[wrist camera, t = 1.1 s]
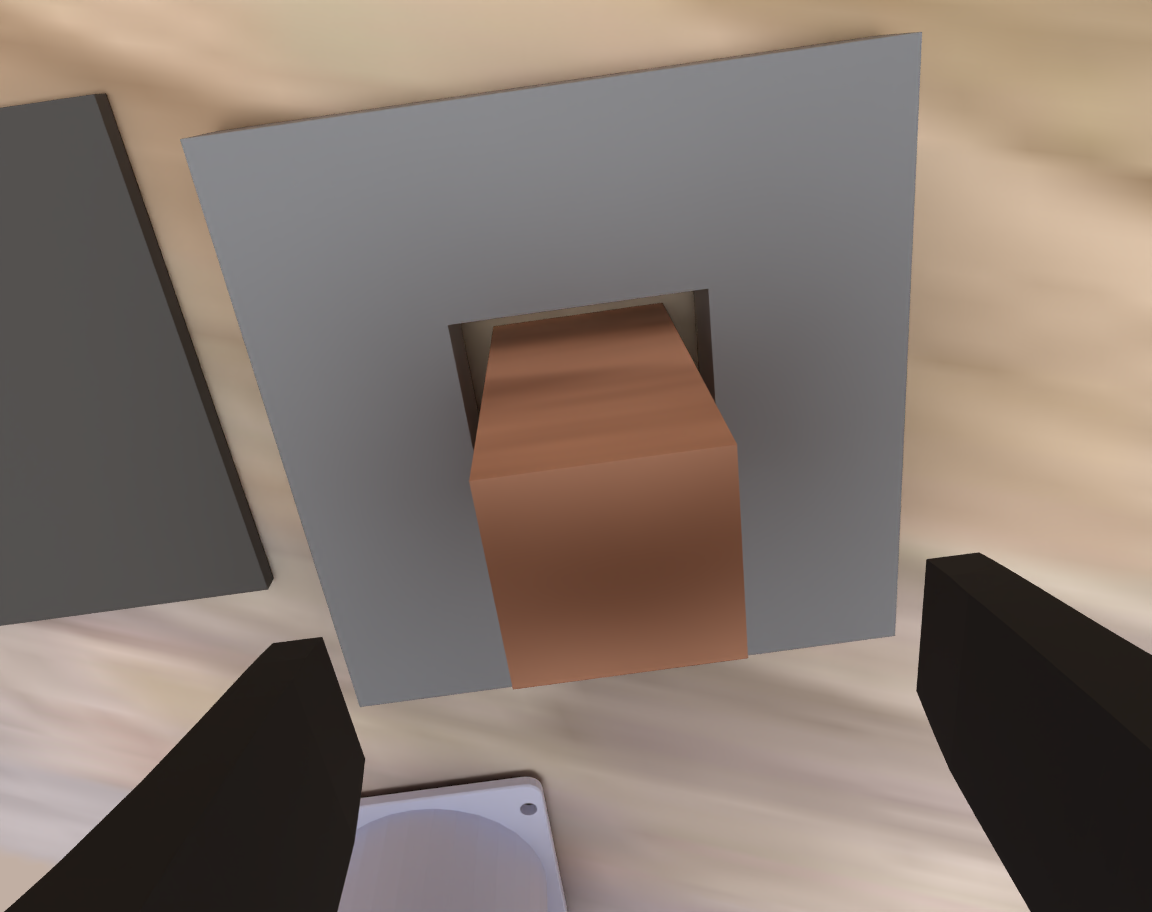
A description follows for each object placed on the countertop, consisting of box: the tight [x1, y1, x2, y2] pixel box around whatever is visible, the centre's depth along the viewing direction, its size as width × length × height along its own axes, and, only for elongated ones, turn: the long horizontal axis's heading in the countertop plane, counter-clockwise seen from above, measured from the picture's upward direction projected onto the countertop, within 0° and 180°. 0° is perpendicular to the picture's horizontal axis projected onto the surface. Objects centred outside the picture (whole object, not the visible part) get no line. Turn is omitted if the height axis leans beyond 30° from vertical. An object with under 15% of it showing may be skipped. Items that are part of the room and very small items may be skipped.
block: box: [469, 303, 748, 689], centre depth 17 cm, size 4×4×8 cm
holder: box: [180, 32, 922, 707], centre depth 19 cm, size 14×14×2 cm
